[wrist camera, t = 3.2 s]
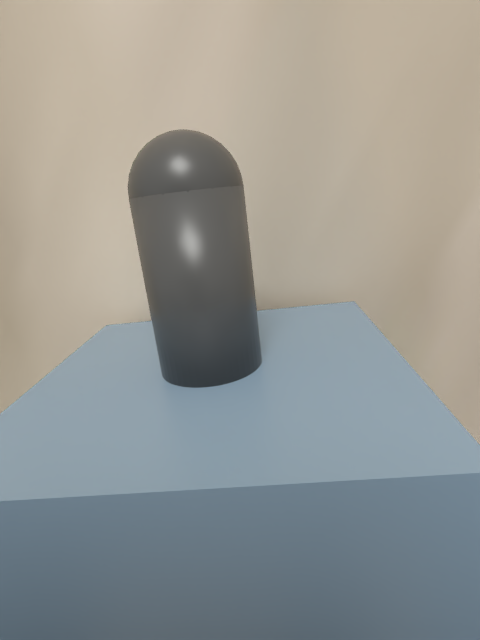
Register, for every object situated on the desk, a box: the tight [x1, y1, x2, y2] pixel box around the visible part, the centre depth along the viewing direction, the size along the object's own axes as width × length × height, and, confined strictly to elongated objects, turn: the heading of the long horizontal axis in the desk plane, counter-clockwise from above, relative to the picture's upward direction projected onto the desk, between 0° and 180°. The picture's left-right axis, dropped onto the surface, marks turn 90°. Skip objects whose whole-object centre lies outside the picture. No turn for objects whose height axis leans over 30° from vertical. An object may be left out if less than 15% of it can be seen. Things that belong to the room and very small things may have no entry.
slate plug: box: [0, 130, 480, 640], centre depth 6 cm, size 12×5×5 cm, turn 7°
